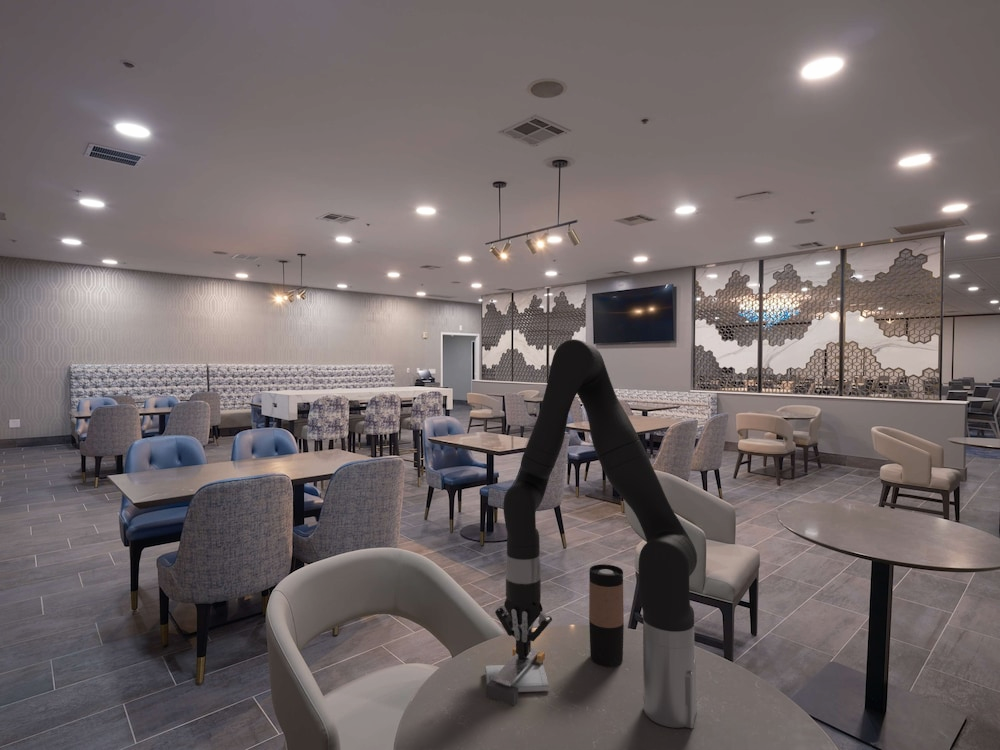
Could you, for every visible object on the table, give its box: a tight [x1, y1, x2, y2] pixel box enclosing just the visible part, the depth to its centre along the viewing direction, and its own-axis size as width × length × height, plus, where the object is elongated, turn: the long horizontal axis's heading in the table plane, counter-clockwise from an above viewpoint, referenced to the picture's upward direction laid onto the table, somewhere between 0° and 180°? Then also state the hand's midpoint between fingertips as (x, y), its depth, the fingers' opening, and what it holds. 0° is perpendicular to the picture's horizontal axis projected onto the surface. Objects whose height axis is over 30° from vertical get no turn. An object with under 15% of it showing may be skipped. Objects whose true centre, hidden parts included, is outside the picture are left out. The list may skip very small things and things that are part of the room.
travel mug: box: [588, 563, 625, 668], centre depth 120 cm, size 8×8×20 cm
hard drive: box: [484, 663, 550, 693], centre depth 110 cm, size 2×8×12 cm
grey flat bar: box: [492, 648, 541, 687], centre depth 111 cm, size 4×15×2 cm, turn 153°
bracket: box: [486, 645, 546, 707], centre depth 110 cm, size 7×15×4 cm, turn 153°
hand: (523, 656), depth 114 cm, fingers closed
